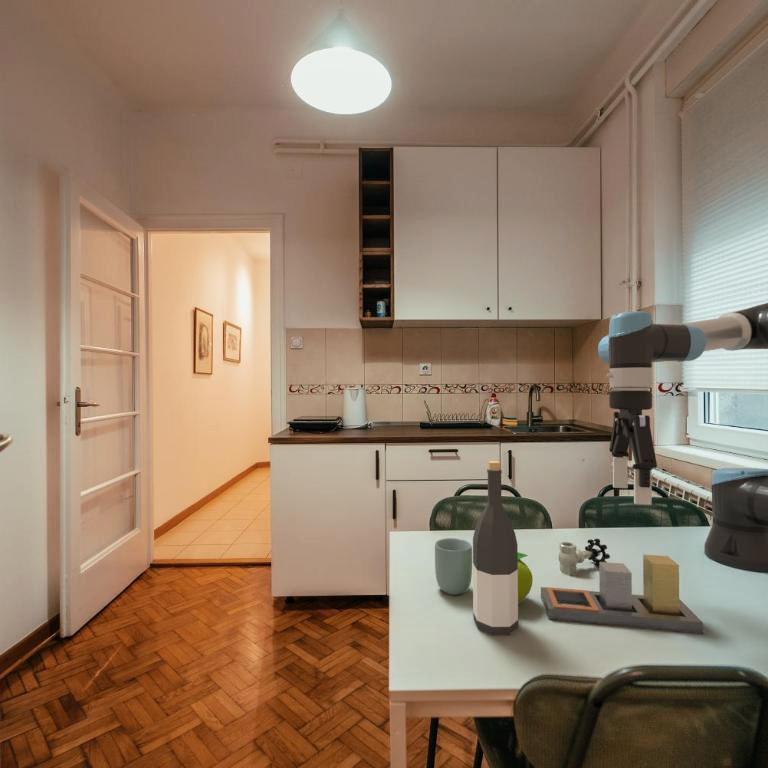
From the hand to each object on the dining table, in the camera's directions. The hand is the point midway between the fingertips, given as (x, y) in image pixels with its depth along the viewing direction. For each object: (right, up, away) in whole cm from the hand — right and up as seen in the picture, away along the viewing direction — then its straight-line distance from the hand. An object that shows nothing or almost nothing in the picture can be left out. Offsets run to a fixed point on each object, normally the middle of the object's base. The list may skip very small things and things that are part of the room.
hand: (630, 495), depth 87 cm
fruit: (-24, -22, +1) cm, 33 cm away
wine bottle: (-29, -22, -7) cm, 37 cm away
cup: (-35, -22, +6) cm, 42 cm away
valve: (-2, -23, +17) cm, 28 cm away
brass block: (+3, -22, -5) cm, 23 cm away
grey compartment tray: (-5, -22, -3) cm, 23 cm away
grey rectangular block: (-5, -22, -3) cm, 23 cm away
